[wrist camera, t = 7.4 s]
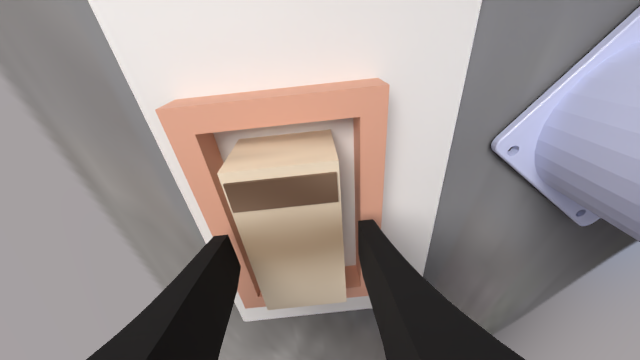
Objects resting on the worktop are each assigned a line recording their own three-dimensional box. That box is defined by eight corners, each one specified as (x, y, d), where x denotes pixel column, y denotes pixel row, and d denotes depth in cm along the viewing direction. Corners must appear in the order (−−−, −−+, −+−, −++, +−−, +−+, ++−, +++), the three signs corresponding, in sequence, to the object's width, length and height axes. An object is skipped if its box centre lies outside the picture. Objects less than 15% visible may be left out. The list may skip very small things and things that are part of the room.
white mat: (580, -517, 4) (602, -563, 4) (414, 298, 18) (417, 303, 18) (-110, -438, 4) (-145, -478, 4) (245, 316, 18) (244, 321, 18)
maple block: (339, 255, 14) (347, 303, 12) (274, 261, 15) (267, 312, 12) (330, 129, 10) (338, 162, 8) (238, 138, 10) (216, 175, 8)
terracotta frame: (175, 99, 9) (154, 109, 8) (377, 77, 9) (389, 84, 8) (250, 286, 16) (245, 308, 14) (371, 273, 16) (377, 294, 14)
